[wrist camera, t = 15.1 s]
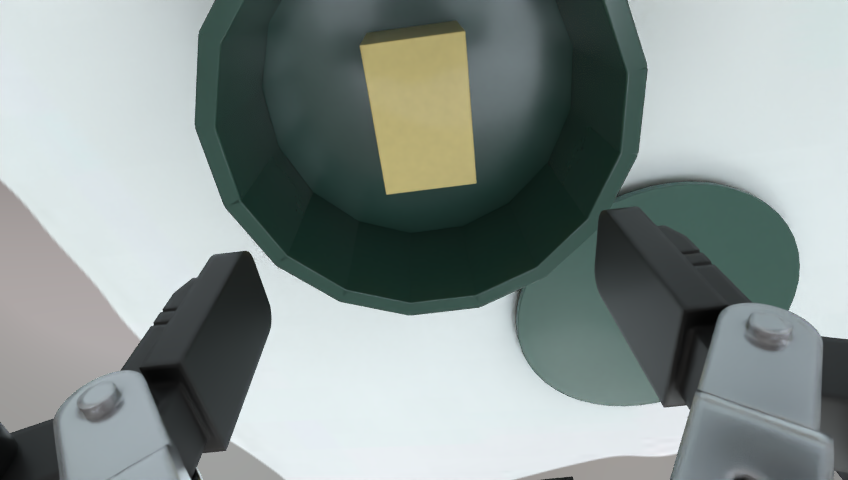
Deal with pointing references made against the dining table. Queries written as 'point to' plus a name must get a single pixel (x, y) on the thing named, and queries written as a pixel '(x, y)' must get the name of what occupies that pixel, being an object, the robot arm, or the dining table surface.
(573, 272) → the pot lid
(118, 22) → the dining table surface
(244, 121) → the pot
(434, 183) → the butter
